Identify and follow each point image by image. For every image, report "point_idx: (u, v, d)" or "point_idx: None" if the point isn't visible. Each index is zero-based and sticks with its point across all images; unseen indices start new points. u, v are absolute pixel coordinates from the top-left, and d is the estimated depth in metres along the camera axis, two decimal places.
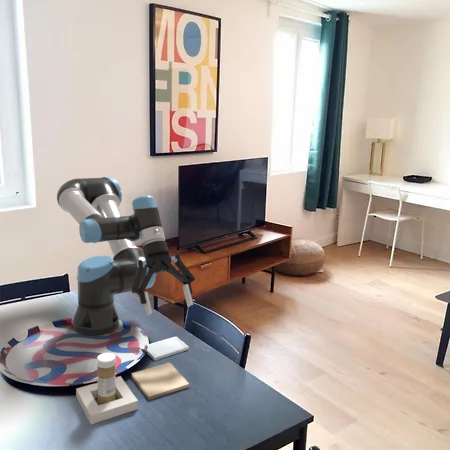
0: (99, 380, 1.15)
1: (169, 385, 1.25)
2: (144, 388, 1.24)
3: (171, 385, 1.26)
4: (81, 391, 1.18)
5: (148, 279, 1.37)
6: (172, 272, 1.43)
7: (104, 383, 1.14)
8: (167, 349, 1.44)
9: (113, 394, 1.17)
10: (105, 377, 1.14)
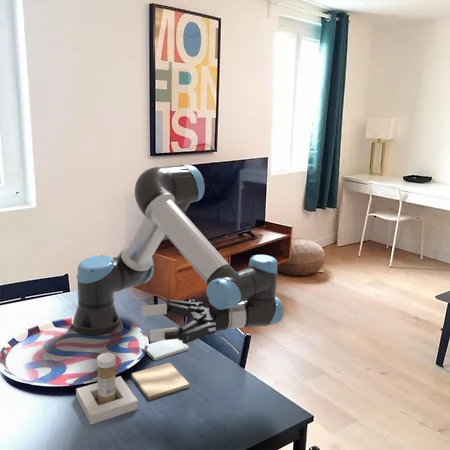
0: (99, 380, 1.15)
1: (169, 385, 1.25)
2: (144, 388, 1.24)
3: (171, 385, 1.26)
4: (81, 391, 1.18)
5: None
6: (185, 313, 1.23)
7: (104, 383, 1.14)
8: (167, 348, 1.44)
9: (113, 394, 1.17)
10: (105, 377, 1.14)
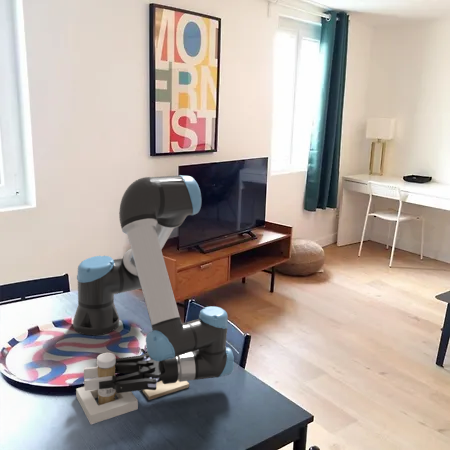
0: None
1: (169, 385, 1.25)
2: None
3: (171, 385, 1.26)
4: (81, 391, 1.18)
5: None
6: (134, 369, 1.20)
7: None
8: None
9: (113, 394, 1.17)
10: None
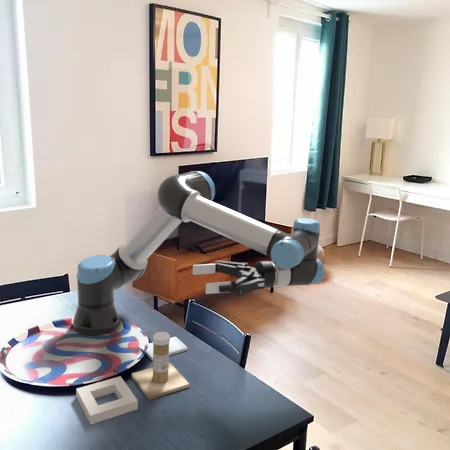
0: (155, 357, 1.25)
1: (169, 385, 1.25)
2: (144, 388, 1.24)
3: (171, 385, 1.26)
4: (81, 391, 1.18)
5: None
6: (233, 272, 1.31)
7: (160, 359, 1.24)
8: None
9: (167, 370, 1.27)
10: (160, 354, 1.24)
